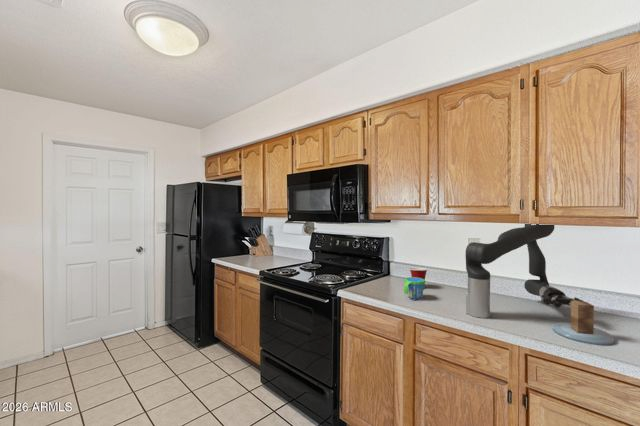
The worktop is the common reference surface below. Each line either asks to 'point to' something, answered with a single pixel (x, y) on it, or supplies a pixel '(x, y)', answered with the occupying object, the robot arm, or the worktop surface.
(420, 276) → the plastic cup
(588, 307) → the walnut block
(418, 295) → the snack cup
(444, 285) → the worktop surface
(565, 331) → the slate plate
